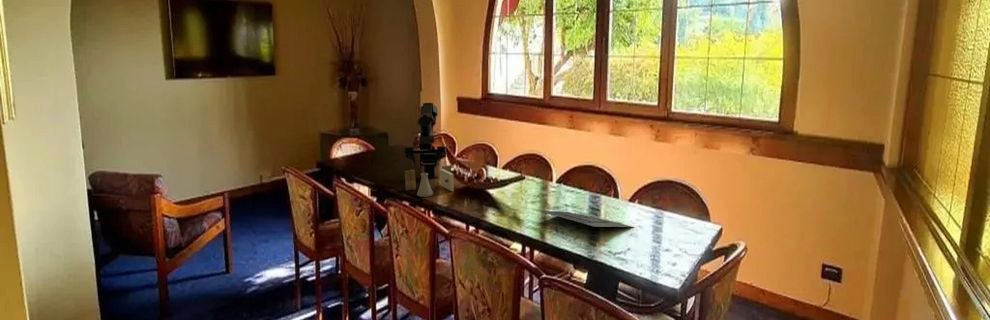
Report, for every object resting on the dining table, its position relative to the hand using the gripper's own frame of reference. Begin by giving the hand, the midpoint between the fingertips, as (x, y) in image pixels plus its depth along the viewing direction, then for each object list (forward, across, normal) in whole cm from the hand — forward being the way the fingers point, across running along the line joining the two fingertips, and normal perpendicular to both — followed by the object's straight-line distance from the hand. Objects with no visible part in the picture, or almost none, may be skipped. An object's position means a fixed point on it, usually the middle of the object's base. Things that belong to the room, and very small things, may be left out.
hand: (425, 167), depth 279 cm
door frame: (+2, +1, +14) cm, 15 cm away
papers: (+44, +63, -26) cm, 81 cm away
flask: (+12, 0, +5) cm, 13 cm away
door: (+4, +9, +12) cm, 15 cm away
